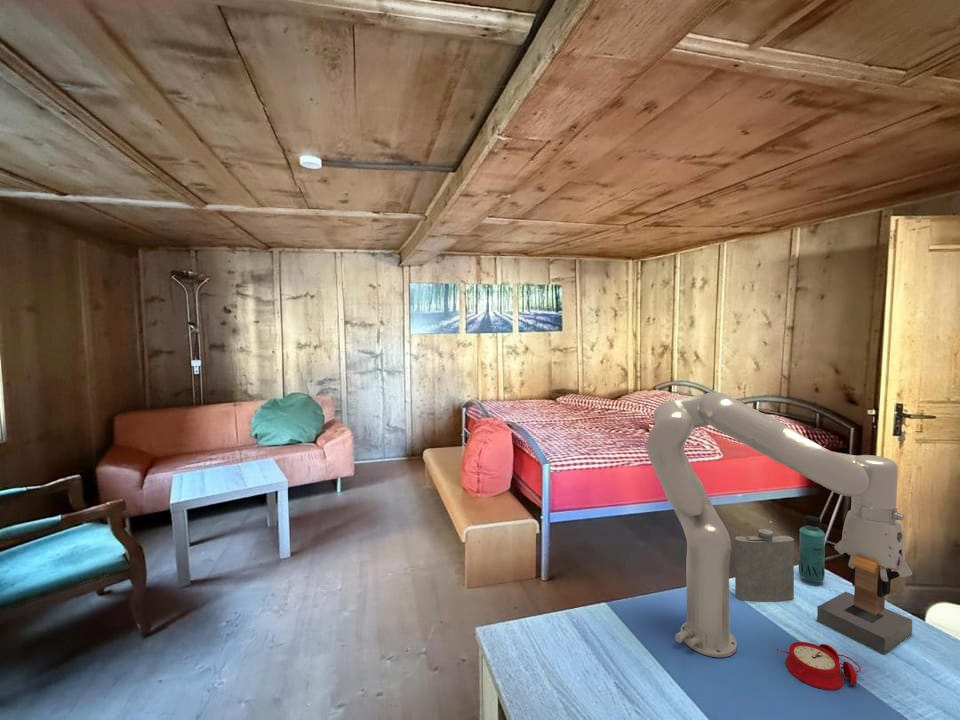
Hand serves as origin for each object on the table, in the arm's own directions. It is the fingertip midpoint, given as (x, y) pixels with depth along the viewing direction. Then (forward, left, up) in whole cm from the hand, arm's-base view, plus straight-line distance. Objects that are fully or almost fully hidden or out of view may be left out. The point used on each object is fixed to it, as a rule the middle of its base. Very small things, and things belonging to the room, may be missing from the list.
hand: (869, 589), depth 100 cm
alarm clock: (-12, +4, -18) cm, 22 cm away
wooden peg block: (0, 0, -4) cm, 4 cm away
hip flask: (+5, +26, -18) cm, 32 cm away
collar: (+13, +7, -18) cm, 23 cm away
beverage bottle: (+25, +25, -18) cm, 40 cm away
